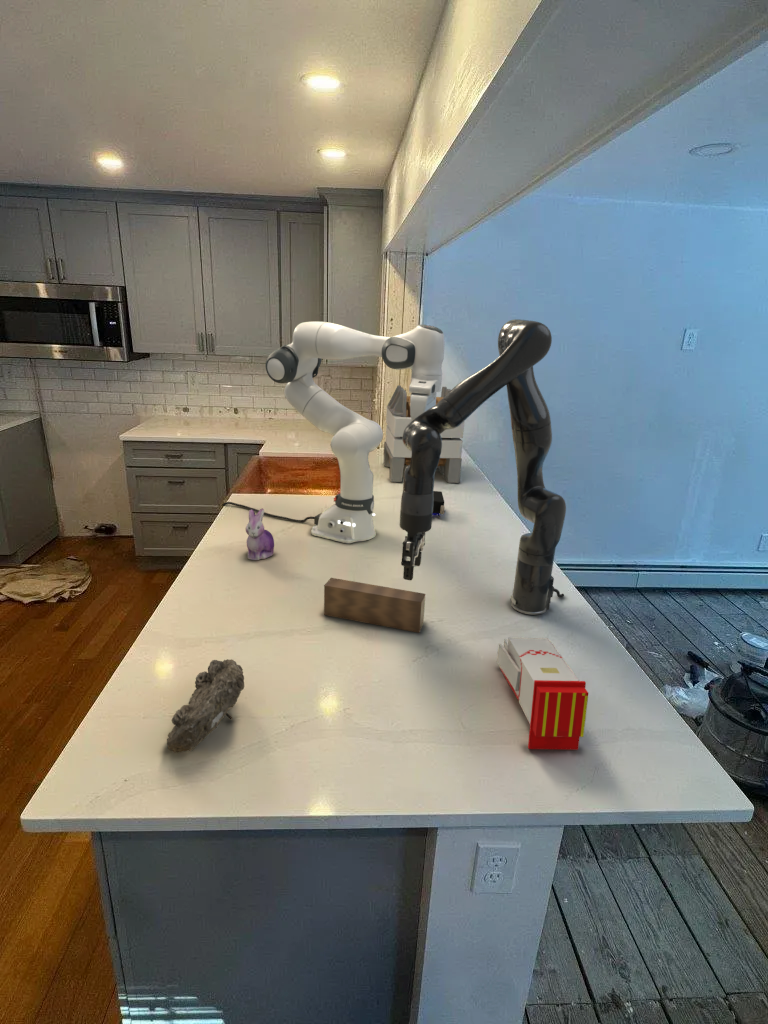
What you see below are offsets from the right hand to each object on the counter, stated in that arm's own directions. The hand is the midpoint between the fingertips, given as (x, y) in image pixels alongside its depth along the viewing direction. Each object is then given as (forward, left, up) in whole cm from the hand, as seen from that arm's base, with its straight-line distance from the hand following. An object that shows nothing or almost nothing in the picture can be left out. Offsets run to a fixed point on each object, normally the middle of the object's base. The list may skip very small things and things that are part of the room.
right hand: (412, 572), depth 137 cm
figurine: (+29, -52, -15) cm, 61 cm away
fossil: (+49, +20, -15) cm, 55 cm away
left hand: (-18, -40, +26) cm, 50 cm away
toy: (-13, +34, -15) cm, 40 cm away
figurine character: (-41, -74, -15) cm, 86 cm away
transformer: (-59, -129, -15) cm, 142 cm away
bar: (+7, -6, -15) cm, 18 cm away
